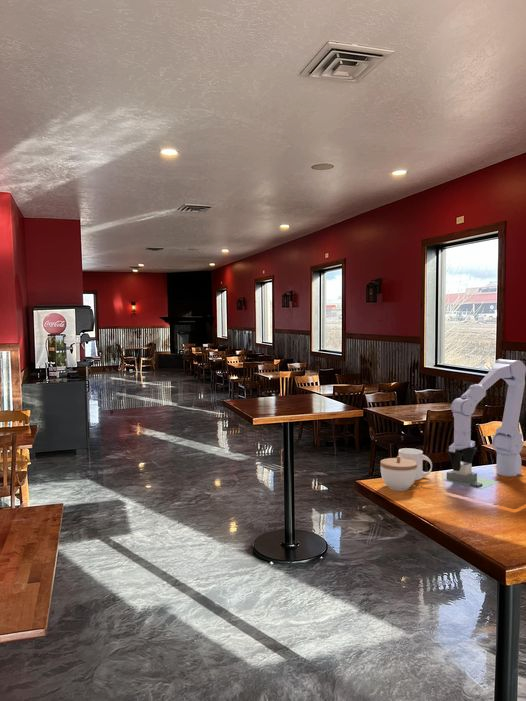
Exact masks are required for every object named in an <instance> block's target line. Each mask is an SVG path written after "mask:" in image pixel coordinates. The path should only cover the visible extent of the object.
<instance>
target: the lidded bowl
mask: <svg viewBox="0 0 526 701" xmlns="http://www.w3.org/2000/svg"><path fill="white" fill-rule="evenodd" d="M379 463H380V474H381V479H382V481H383V483H384V484H385V486H387V488H388V489H390V490H392V491H397V492H402V491H408V490H409V489H410V488H411V486H412V485H414V483H415V481H416V480H415V478H416V473H417V463H416V462H415V461H413V460H409V459H403V458H400V457H399V455H397V456H396V457H388V458H384V459H381V460H380V462H379Z"/></svg>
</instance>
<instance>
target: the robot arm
mask: <svg viewBox="0 0 526 701" xmlns="http://www.w3.org/2000/svg"><path fill="white" fill-rule="evenodd" d="M525 378H526V365H525V364H524V362H523V361H522V360H518V359H517V360H515V359H513V360H512V359H503V358H499V359H496V360H495V362H493V364H491V368H490V370H489V371H488V373H486V375H485V376H484V377H483V378H482V379H481V381H480V382H478V384H477V383H475V384H471V385H470V386H469V387H468V388H467V390H466V391H465V392H464V393H463V394H462V395H461V396H460V397H457V398H455V399H454V400H453V401H452V403H451V405H450V410H451V412H452V417H453V429H454V430H453V443H452V444H450V445H449V446H448V449H447V450H446V454H447V455H448V457H449V459H450V462H451V466H452V470H455V471H459V470H460V465H461V462H462V459H463V462H466V463H471V464H472V463H473V459H474V456H475V455H476V453H477V451H478V448H477V447H475V446H476V441H475V440H471V439H472V438H471V436H472V432H471V431H472V428H471V427H472V414H474V413H475V410H476V407H477V405H478V404H479V403H480V402H481V401H482V400H483V398H485V397H486V395H487V390H488V389H489V388H491V387H492V386H493V385H495V383H496V382H497V381H499V380H500V379H502V380H504V382H506V384H507V385H508V387H507V393H506V397H505V398H506V399H505V405H504V411H503V416H502V421H501V422H502V423H501V426H499V427H498V428H496V430H495V433H494V435H493V437H492V439H491V440H492V441H491V444H492V447H493V448H494V449H495V450H494V451H495V452H496V471H495V472H496V474H497V475H500V476H502V477H503V476H504V477H516V476H517V475H522V476H524V474H523V473H522V456H521V455H520V453H521V452H522V450H523V447H524V446H523V445H524V444H523V434H522V432H520V430H519V429H518V428H519V422H520V421H519V420H520V415H521V408H522V403H523V397H524V390H525V386H526V380H525ZM460 451H461V452H460Z"/></svg>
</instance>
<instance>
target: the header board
mask: <svg viewBox="0 0 526 701" xmlns="http://www.w3.org/2000/svg"><path fill="white" fill-rule="evenodd" d="M442 481H446V482H451V483H455V484H459V485H464V486H467V487H472V488H477V489H480V490H482V489H485V488H487V487H490V486H493V485H495V484H498V483H500V481H498V480H494V479H489V478H484V477H479V476H478V472H473V471H472V474H470V475H467V476H465V475H460V474H456V473H453V469H451V470H448V471H446V477H445V478H442Z"/></svg>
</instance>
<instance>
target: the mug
mask: <svg viewBox="0 0 526 701" xmlns="http://www.w3.org/2000/svg"><path fill="white" fill-rule="evenodd" d="M423 453H424V451H423V450H421V449H416V448H410V447H409V448H407V447H405V448H399V449H398V456H399V457H400V458H403V459H409V460H413V461H415V462H416V463H417V473H416V478H415V481H417V480H422V479H423V477H427V476H428V475H430V473H431V472H432V471H433V470H432V469H433V462H432V460H431V459H430V458H429V457H428V456H427V455H425V454H423ZM424 461H427V462H428V463H429V464H430V469H429V470H428V471H424V470H423V465H424V464H423V462H424Z"/></svg>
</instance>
